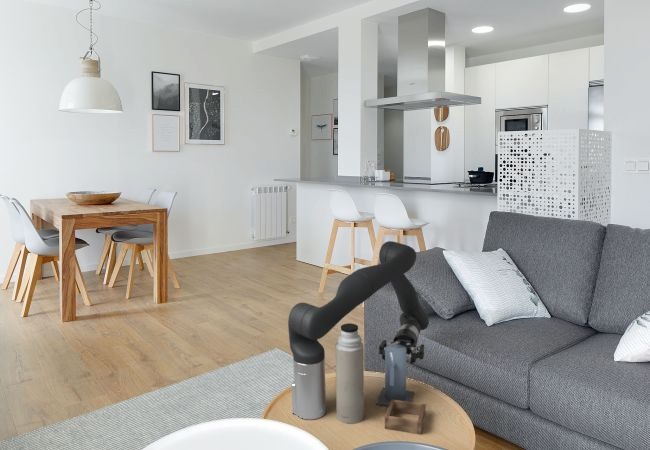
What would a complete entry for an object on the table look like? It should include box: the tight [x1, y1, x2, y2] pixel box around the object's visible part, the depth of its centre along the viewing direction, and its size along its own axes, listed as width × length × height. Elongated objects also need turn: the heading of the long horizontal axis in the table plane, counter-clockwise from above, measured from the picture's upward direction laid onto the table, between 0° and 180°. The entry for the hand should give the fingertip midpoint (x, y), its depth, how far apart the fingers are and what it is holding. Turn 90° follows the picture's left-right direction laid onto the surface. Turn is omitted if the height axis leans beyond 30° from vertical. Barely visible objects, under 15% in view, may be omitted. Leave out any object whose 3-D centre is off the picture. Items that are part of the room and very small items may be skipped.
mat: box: [375, 386, 415, 408], centre depth 161 cm, size 10×10×1 cm
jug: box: [384, 344, 407, 401], centre depth 158 cm, size 6×9×16 cm
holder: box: [384, 399, 427, 435], centre depth 148 cm, size 10×10×4 cm
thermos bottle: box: [335, 322, 365, 424], centre depth 149 cm, size 8×8×28 cm
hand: (397, 359), depth 161 cm, fingers open, 8 cm apart
